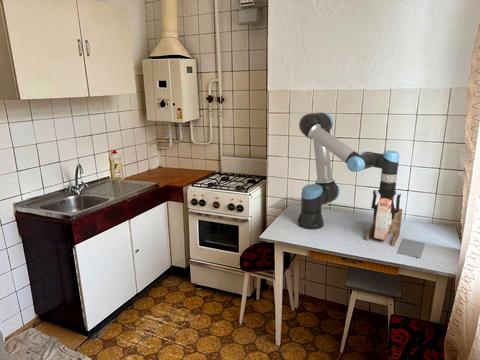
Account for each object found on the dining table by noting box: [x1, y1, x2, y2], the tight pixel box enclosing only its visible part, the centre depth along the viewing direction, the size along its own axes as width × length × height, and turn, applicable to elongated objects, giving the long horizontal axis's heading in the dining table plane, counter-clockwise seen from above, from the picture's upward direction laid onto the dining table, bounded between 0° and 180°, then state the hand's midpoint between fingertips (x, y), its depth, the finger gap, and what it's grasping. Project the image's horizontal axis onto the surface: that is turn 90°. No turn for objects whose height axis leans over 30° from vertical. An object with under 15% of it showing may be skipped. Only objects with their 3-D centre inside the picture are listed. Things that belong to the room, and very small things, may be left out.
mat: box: [397, 238, 426, 259], centre depth 174 cm, size 10×18×1 cm, turn 147°
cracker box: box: [373, 195, 395, 241], centre depth 183 cm, size 14×6×21 cm, turn 148°
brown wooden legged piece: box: [365, 204, 403, 247], centre depth 185 cm, size 14×16×15 cm
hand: (383, 222), depth 184 cm, fingers closed on cracker box, 6 cm apart
